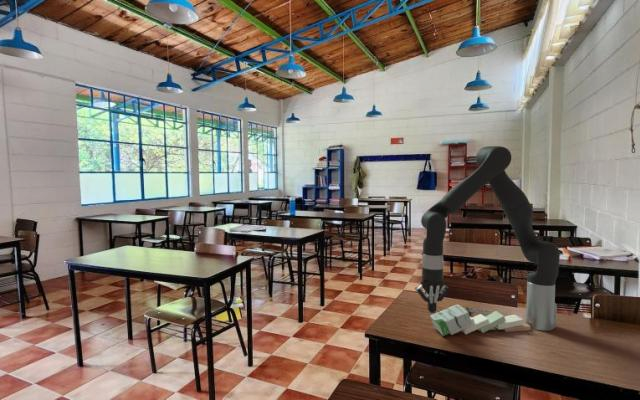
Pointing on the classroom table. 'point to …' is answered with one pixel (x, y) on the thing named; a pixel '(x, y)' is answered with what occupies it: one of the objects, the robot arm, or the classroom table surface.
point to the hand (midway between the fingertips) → (431, 312)
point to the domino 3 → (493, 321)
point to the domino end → (518, 328)
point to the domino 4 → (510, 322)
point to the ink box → (451, 319)
